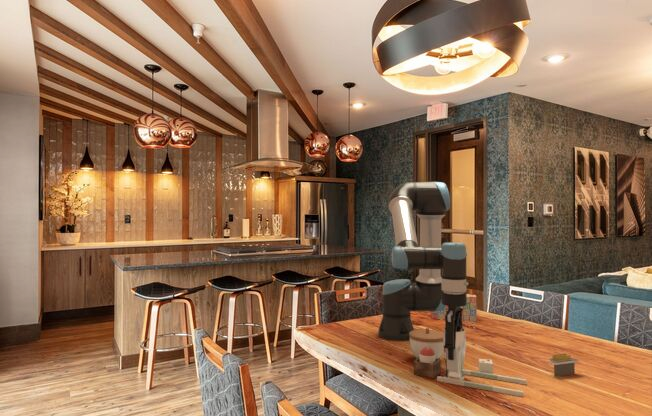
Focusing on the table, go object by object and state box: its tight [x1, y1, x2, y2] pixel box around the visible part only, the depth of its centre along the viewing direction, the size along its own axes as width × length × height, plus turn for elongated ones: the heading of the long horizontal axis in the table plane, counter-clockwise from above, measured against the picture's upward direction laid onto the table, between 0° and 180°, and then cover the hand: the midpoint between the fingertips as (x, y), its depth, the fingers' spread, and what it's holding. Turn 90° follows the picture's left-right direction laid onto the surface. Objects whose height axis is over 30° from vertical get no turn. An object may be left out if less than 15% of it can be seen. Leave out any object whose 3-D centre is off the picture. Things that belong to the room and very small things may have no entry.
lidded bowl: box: [409, 327, 444, 359], centre depth 152 cm, size 13×13×11 cm
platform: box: [548, 353, 580, 377], centre depth 138 cm, size 12×18×7 cm, turn 107°
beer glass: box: [442, 327, 467, 381], centre depth 135 cm, size 7×7×15 cm
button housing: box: [412, 357, 442, 379], centre depth 139 cm, size 7×7×4 cm
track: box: [436, 365, 527, 397], centre depth 131 cm, size 24×11×1 cm, turn 61°
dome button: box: [419, 347, 435, 364], centre depth 139 cm, size 5×5×7 cm
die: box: [478, 358, 494, 374], centre depth 139 cm, size 4×4×4 cm
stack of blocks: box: [430, 293, 478, 323], centre depth 213 cm, size 21×6×12 cm, turn 74°
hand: (454, 366), depth 135 cm, fingers closed on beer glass, 7 cm apart
